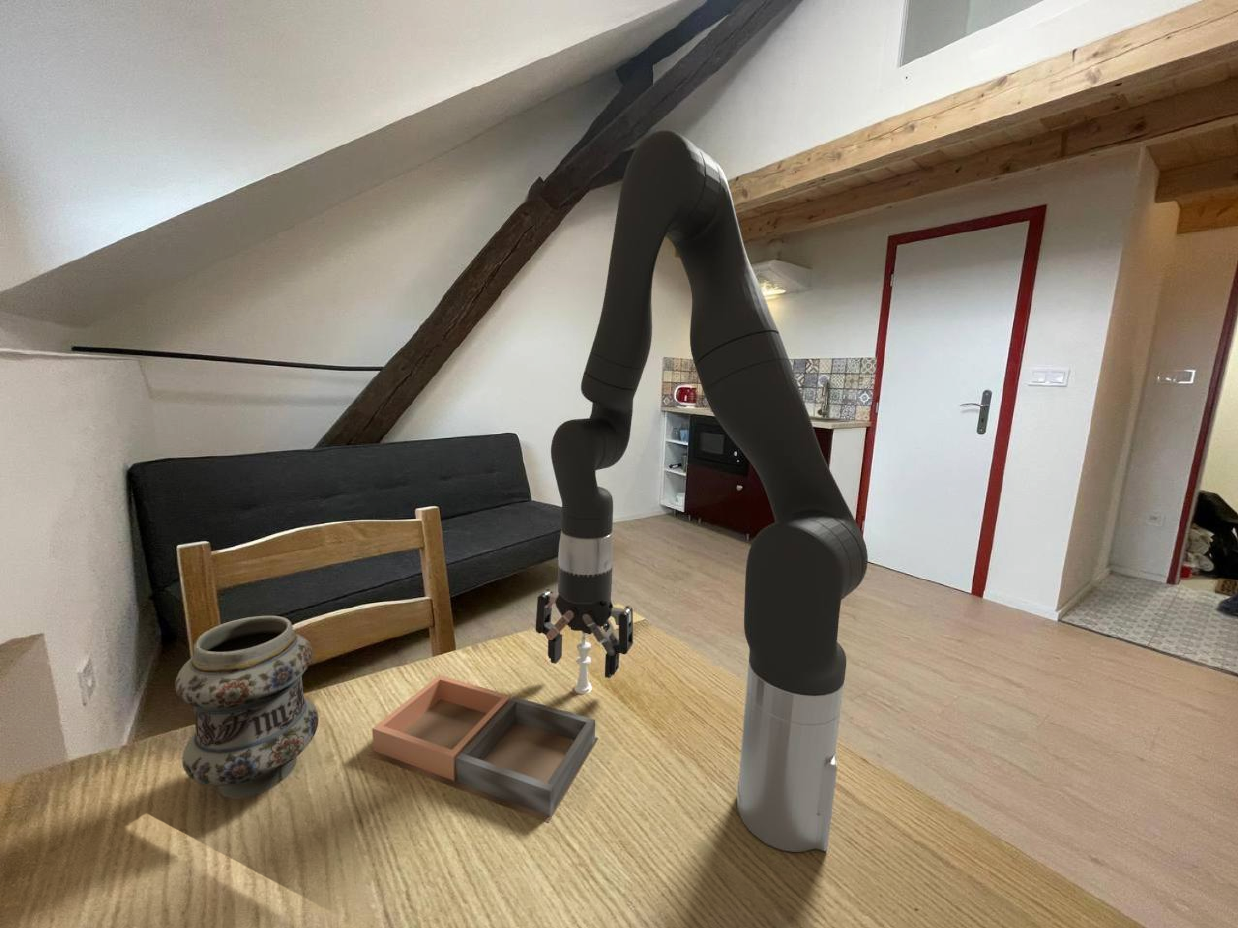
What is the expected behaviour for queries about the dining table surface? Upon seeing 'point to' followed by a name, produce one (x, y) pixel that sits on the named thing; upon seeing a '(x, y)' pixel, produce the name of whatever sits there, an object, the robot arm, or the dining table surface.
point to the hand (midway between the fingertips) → (582, 667)
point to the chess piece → (583, 666)
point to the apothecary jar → (247, 705)
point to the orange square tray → (409, 747)
